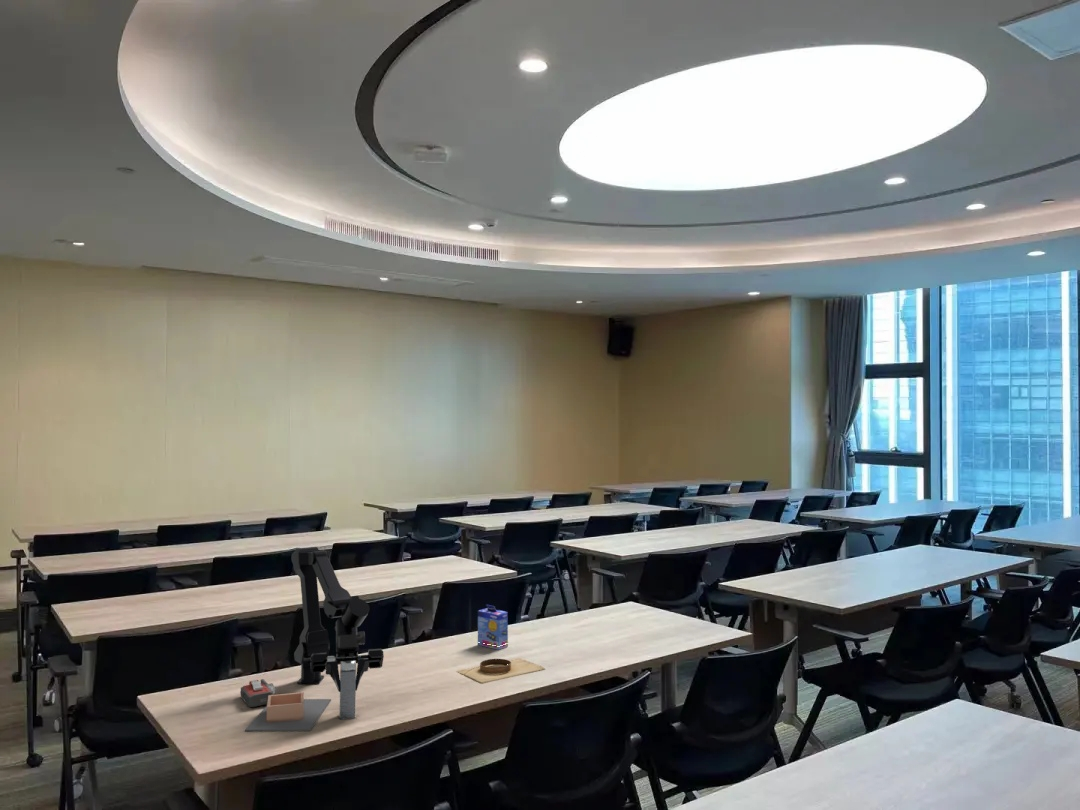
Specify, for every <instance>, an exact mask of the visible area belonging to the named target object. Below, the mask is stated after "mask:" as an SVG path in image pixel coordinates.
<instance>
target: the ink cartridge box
mask: <svg viewBox="0 0 1080 810" xmlns="http://www.w3.org/2000/svg"><path fill="white" fill-rule="evenodd" d="M485 606H486V608H482V609H479V610H477V646H480V647H485V648H488V649H489V648H490V649H493V650H498V651H499V650H501V649H504V648H507V647H509V636H508V635H509V631H508V626H509V625H508V623H509V622H508V621H509V620H508V617H509V615H508V611H505V610H500V609H496V606H494V605H490V604H485ZM478 642H480V643H478ZM483 643H485V644H483ZM505 643H508V644H506V645H503V644H505ZM487 644H491V645H487ZM492 645H496V646H492ZM500 645H503V646H500ZM497 646H500V647H497Z"/></svg>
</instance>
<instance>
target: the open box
mask: <svg viewBox="0 0 1080 810" xmlns="http://www.w3.org/2000/svg"><path fill="white" fill-rule="evenodd" d="M304 694H305V693H304V692H303V691H302V692H293V693H292V692H291V693H290V692H289V693H279V694H274V695H268V703H267V704H266V706H267V723H269V722H280V721H290V720H301V719H303V707H304V699H305V698H304V697H305V696H304Z"/></svg>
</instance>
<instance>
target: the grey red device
mask: <svg viewBox="0 0 1080 810" xmlns="http://www.w3.org/2000/svg"><path fill="white" fill-rule="evenodd" d="M268 695H276V686H275V685H274V683H268V682H267V681H266V680H265V679H263V678H262V679H260V681H259V680H258V679H254V680H249V682H248V684H246V685H243V686H241V687H240V698H241V699H243V701H244V702H245V704H246V705H247V706H248V707H250V708H255V707H259V706H267V703H268Z"/></svg>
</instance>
